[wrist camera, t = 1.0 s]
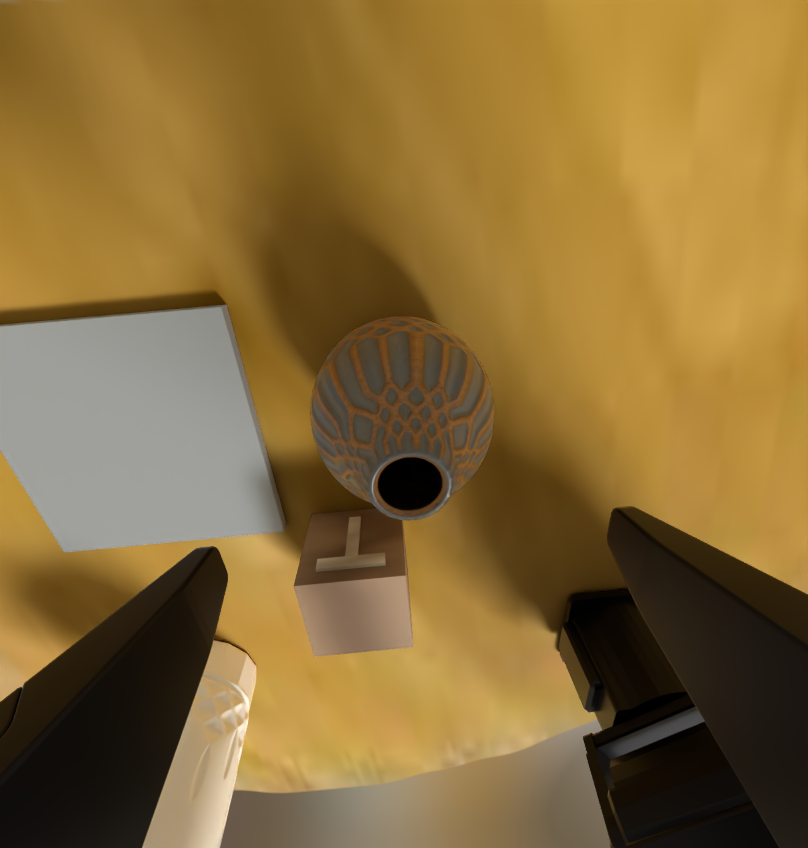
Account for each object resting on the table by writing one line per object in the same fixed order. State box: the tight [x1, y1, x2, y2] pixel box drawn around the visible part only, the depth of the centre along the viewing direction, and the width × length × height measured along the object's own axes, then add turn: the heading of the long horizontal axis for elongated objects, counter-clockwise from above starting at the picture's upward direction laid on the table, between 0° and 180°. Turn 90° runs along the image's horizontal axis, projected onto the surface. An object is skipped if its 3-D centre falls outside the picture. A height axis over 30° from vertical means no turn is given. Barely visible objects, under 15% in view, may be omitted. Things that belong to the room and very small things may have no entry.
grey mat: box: [0, 304, 286, 552], centre depth 19 cm, size 12×12×1 cm
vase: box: [310, 316, 494, 520], centre depth 15 cm, size 7×7×9 cm
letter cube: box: [294, 508, 413, 657], centre depth 21 cm, size 5×5×5 cm
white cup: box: [142, 640, 257, 848], centre depth 23 cm, size 8×8×10 cm
